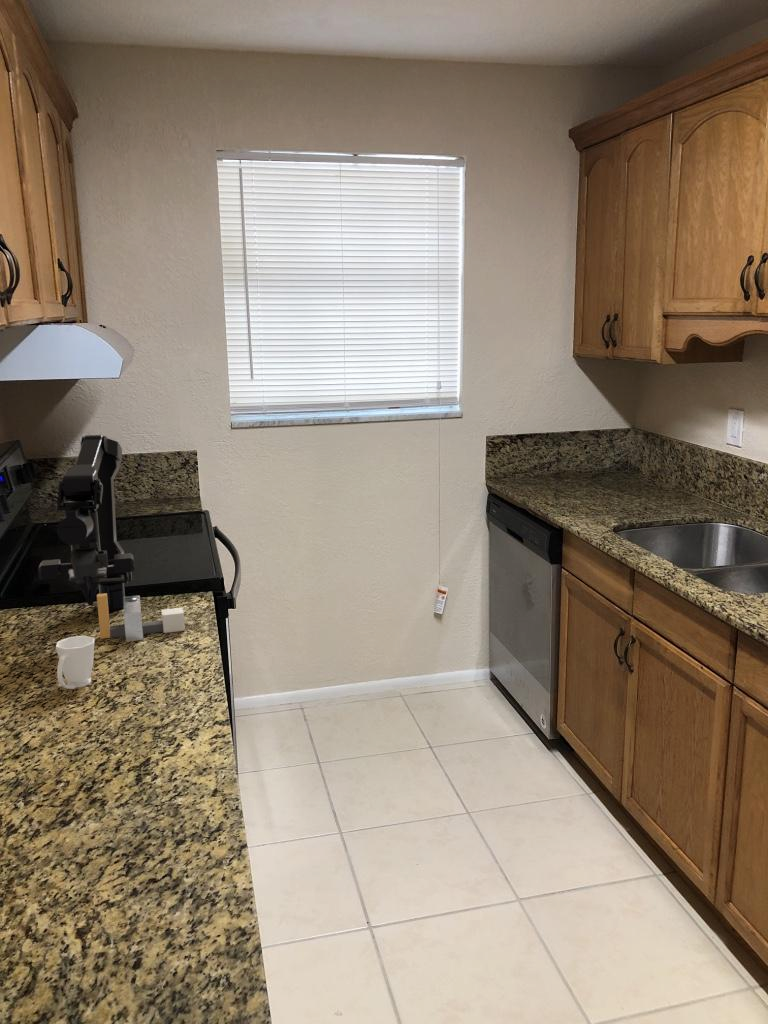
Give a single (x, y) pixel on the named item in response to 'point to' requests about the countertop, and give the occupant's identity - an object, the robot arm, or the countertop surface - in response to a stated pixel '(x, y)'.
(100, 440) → the robot arm
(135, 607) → the housing
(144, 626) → the multicoloured u-shaped piece
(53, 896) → the countertop surface
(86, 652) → the cup
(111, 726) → the countertop surface
